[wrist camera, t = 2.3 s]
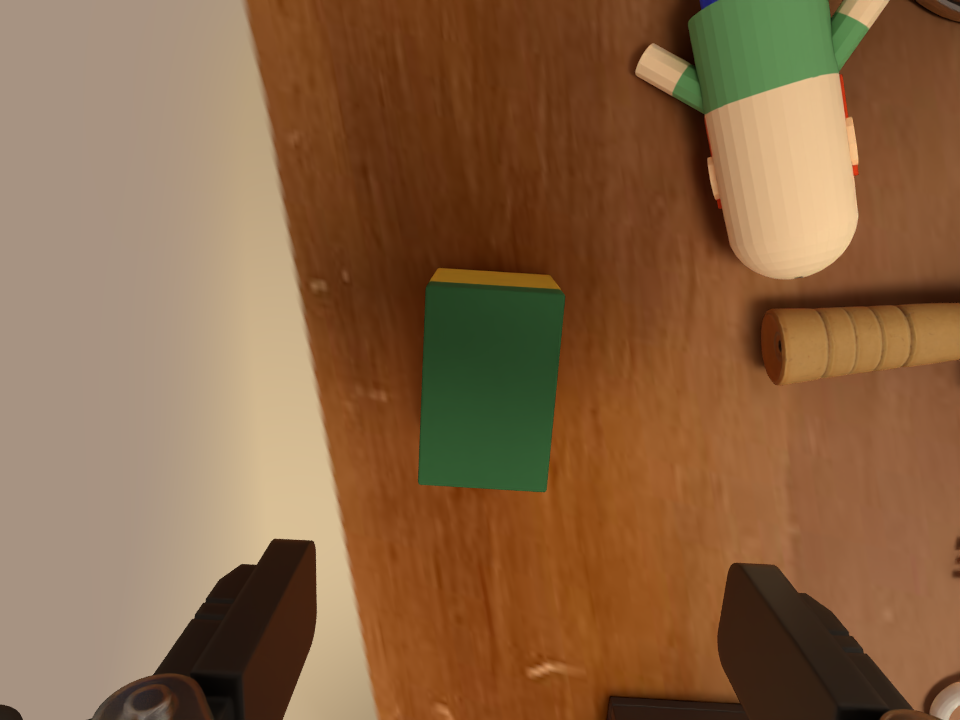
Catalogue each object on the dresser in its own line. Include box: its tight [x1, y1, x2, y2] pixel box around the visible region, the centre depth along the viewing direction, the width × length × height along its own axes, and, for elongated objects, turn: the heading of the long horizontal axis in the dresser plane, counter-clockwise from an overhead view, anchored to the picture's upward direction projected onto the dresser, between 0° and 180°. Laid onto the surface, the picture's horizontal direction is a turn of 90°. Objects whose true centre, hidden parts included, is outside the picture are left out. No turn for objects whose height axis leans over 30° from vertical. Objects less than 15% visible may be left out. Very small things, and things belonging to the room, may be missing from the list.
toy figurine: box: [635, 0, 890, 279], centre depth 21 cm, size 8×4×12 cm
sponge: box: [418, 268, 565, 492], centre depth 23 cm, size 7×4×5 cm, turn 176°
